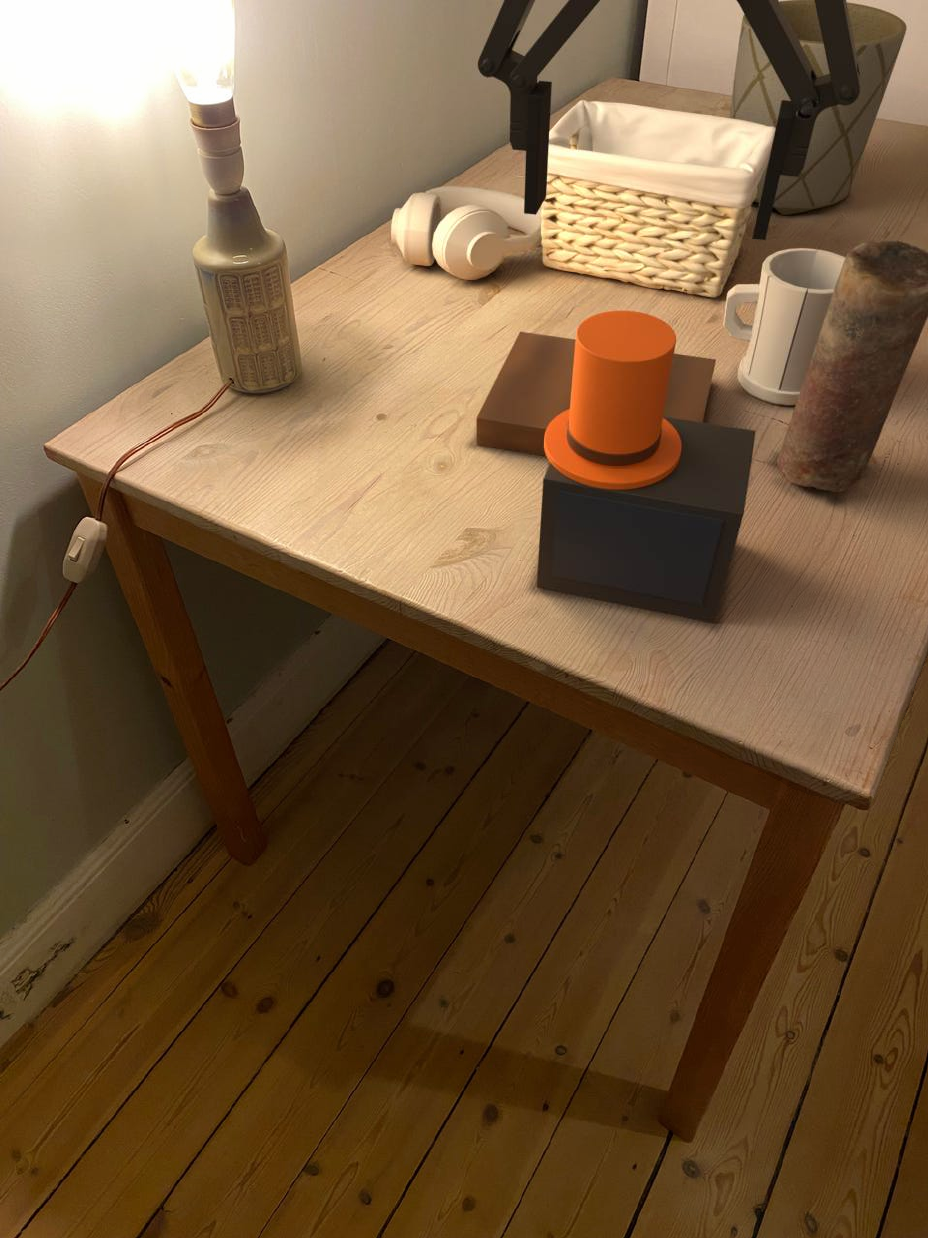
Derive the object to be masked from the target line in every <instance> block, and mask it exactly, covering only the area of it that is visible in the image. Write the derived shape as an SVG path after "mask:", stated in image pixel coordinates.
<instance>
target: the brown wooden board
mask: <svg viewBox="0 0 928 1238" xmlns="http://www.w3.org/2000/svg"><path fill="white" fill-rule="evenodd" d="M575 342H576V338H568V337H563V336H554V335H548V334H539V333H533V332H527V331H519V333H518V335H517V337H516V339H515V340H514V342H513V345H512V347H511V349H510V351H509V353H508V355H507V357H506V359H504V360H505V361H504V363H503V364H502V365H501V368H500V370H499V372H498V374H497V376H496V378H495V380H494V382H493V384H492V386H491V388H490V390H489V391H488V394H487V396H486V398H485V400H484V402H483V404H482V406H481V408H480V410H479V412H478V414H477V416H476V417H475V418H476V422H475V423H476V424H475V425H476V445H478V446H485V447H491V448H495V449H501V450H502V449H503V450H508V451H514V452H520V453H526V454H531V455H538V456H543V457H547V456H546V453H545V450H544V437H545V432H546V429H547V427H548V426H549V424H550V423H551V422H552V420H553V419H555V418H556V417H557V416H558V415H560V414H561V413H562V412H564V411H566V410H568V409H570V402H571V390H572V378H573V366H574V354H575ZM716 362H717V359H716V358H708V357H703V356H696V355H695V356H694V355H688V354H681V353H674V356H673V362H672V368H671V373H670V379H669V385H668V391H667V397H666V402H665V408H664V414H663V416H664V417H671V418H677V419H684V420H690V421H696V422H703V423H704V418H705V413H706V408H707V404H708V400H709V394H710V390H711V387H712V380H713V376H714V371H715V367H716Z"/></svg>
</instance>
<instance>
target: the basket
mask: <svg viewBox="0 0 928 1238" xmlns="http://www.w3.org/2000/svg"><path fill="white" fill-rule="evenodd" d="M775 129H776V128H775V127H768V126H765V125H762V124H758V123H753V122H749V121H744V120H738V119H732V118H729V117H724V116H717V115H712V114H704V113H695V112H686V111H679V110H672V109H666V108H665V109H664V108H659V107H652V106H645V105H638V104H632V103H624V102H612V101H611V102H610V101H599V100H593V101H586V100H585V99H581V100H579V101H578V102H577V103H576V104H575V105H573V106H572V107H571V108H570V109H569V110H568V111H566V113H565V114H564V115H563V116H562V117H561V118H560V119H559V120H558V121H557V122H556V123H555V124H554V125H553V127H552V128H550V130H549V151H548V171H547V191H546V198H545V200H544V202H543V204H542V205H541V207H542V210H541V218H542V223H541V236H542V241H541V243H542V247H543V248H542V249H541V251H542V253H541V254H542V255H541V260H542V264H543V266H545V267H547V268H550V269H551V268H552V269H554V270H559V271H565V272H570V273H571V272H572V273H578V274H581V275H583V274H584V275H587V276H588V275H589V276H593V277H598V278H602V279H613V280H619V281H621V282H624V283H628V282H630V283H632V284H634V285H638V286H641V287H646V288H649V289H657V290H660V289H661V290H662V289H664V290H665V291H666V290H667V291H676V292H682V293H686V294H688V295H697V296H702V297H708V298H717V297H719V296H720V295H721V294H722V292H723V290H724V286H725V285H726V283H727V281H728V278H729V277H730V275H731V272H732V268H733V267H734V265H735V261H736V259H737V258H738V256H739V250H740V248H741V246H742V240H743V237H744V236H745V232H746V229H747V222H748V220H749V217H750V216H751V214H752V205H753V203H754V200H755V198H756V194H757V185H758V184H759V181H760V179H761V177H762V174H763V172H764V170H765V168H766V166H767V164H768V161H769V156H770V152H771V147H772V142H773V138H774V133H775Z"/></svg>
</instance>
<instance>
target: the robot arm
mask: <svg viewBox="0 0 928 1238" xmlns="http://www.w3.org/2000/svg"><path fill="white" fill-rule="evenodd" d="M600 1H601V0H567V2H566V3H565V4H564V6H563V7H562V8H561V9H560V11H559V12H558V13H557V14H556V16H555V17H554V18H553V19H552V20H551V22H550V23H549V24H548V26H547V27H546V28H545V29H544V31H542V33H541V35H539V37H538V38H537V39H536V40H535V42H534V43H533V45H532V46H531V47H530V48H529V49H528V50H527V52H526V53H525V55H524V54H522V53H519V52H518V51H515V50H514V47H515V45H516V43H517V41H518V39H519V37H520V34H521V32H522V31H523V28H524V26H525V23H526V21H527V19H528V18H529V15H530V13H531V10H532V8H533V6H534V4H535V2H536V0H503V2H502V4H501V7H500V9H499V11H498V14H497V16H496V19H495V20H494V23H493V25H492V28H491V30H490V32H489V34H488V37H487V39H486V41H485V43H484V46H483V48H482V50H481V53H480V55H479V58H478V60H477V69H478V71H479V73H480V74H481V76H483V77H485V78H495V79H496V80H498V81H500V82H502V83H503V84H504V85H506V87H507V88H508V91H509V94H510V95H509V97H510V100H509V101H510V103H509V143H510V146H511V149H512V150H513V151H522V152H523V151H524V152H525V166H524V167H525V169H524V170H525V171H524V197H523V198H524V214H533V215H536V214H537V212H538V210H539V209H540V207H541V205H542V204H543V202H544V200H545V198H546V191H547V171H548V151H549V132H550V131H551V127H550V126H551V109H552V88H553V81H547V80H539V81H538V76H540V74H541V73H542V72H543V70H544V69H545V68H546V67H547V66H548V65H549V63H550V62H551V61H552V59H553V58H554V57H555V56H556V55H557V54H558V53H559V51H560V50H561V49H562V47H564V45H565V44H566V42H568V40H570V38H571V36H572V35H573V34H574V33H575V32H576V31H577V29H579V27H580V25H581V24H582V23H583V22H584V21H585V20H586V18H587V17H588V16H589V15H590V14H591V12H592V11H593V10H594V9H595V8H596V6H597V5H598V4H599V3H600ZM735 1H736V2H737V3H738V5H739V6H740V9H741V10H742V12H743V15H744V14H745V16H746V18H747V20H748V22H749V24H750V25H751V27H752V29H753V31H754V33H755V35H756V37H757V39H758V40H759V42H760V44H761V46H762V48H763V50H764V52H765V53H766V55H767V57H768V59H769V61H770V63H771V65H772V66H773V68H774V70H775V72H776V74H777V76H778V78H779V79H780V81H781V83H782V85H783V87H784V89H785V91H786V92H787V94H788V96H789V98H790V100H791V101H787V100H782V101H781V106H780V110H779V115H778V119H777V124H776V129H775V133H774V138H773V142H772V147H771V152H770V156H769V161H768V165H767V170H766V175H765V179H764V184H763V189H762V193H761V198H760V202H759V203H758V208H757V211H756V217H755V221H754V226H753V231H752V235H751V236H752V237H751V239H752V240H759V241H766V239H767V234H768V230H769V226H770V221H771V217H772V212H773V208H774V207H773V204H774V200H775V196H776V191H777V187H778V182H779V178H780V175H784V176H794V177H798V176H799V174H800V173H801V171H802V170H803V168H804V165H805V161H806V156H807V152H808V148H809V144H810V140H811V136H812V132H813V128H814V124H815V121H816V118H817V116H818V115H819V114H820V113H821V112H822V111H823V110H824V109H826V108H829V107H832V106H836V105H839V104H840V105H844V106H846V105H850V104H852V103H853V102H855V101H856V99H857V98H858V96H859V94H860V70H859V64H858V59H857V54H856V49H855V43H854V38H853V33H852V28H851V22H850V17H849V12H848V7H847V2H848V1H847V0H815V5H816V10H817V15H818V20H819V24H820V29H821V34H822V39H823V44H824V48H825V53H826V58H827V63H828V67H829V72H830V74H827V75H823V76H820V77H818V76H817V74H816V72H815V70H814V68H813V66H812V65H811V63H810V61H809V59H808V57H807V55H806V53H805V51H804V49H803V47H802V45H801V43H800V41H799V39H798V37H797V36H796V34H795V32H794V30H793V28H792V26H791V24H790V22H789V20H788V18H787V16H786V14H785V12H784V10H783V8H782V7H781V5H780V3H779V1H780V0H735Z"/></svg>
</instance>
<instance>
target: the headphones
mask: <svg viewBox="0 0 928 1238" xmlns="http://www.w3.org/2000/svg"><path fill="white" fill-rule="evenodd" d="M524 198H525V197H523V196H520V195H516V194H512V193H509V192H504V191H499V190H494V189H488V188H481V187H477V186H460V185H444V186H443V185H442V186H437V187H434V188H431V189H428V190H426V191H425V192H421V191H419V192H414V193H412V194H411V195H410V196H409V198H408V199H407V200H406V202H405V203H404V205H403V206H402V207H401V208H400V207H396V208H395V209H394V211H393V214H392V218H391V226H390V240H391V244H392V246H395V247H398V248H399V250H400V253H401V254H402V256H403V259H404V260H405V263H406V264H410V265H415V266H423V267H432V265H433V264H434V263H435V261H436V263H437V265H438V266H440V268H442V269H443V270H444V271H445V272H447V273H449V274H450V275H452V276H454V277H456V278H459V279H462V280H465V281H477V280H479V279H482V278H485V277H487V276H488V275H491V274H492V273H493V272H495V271H496V270H497V269H498V267H499V266H500V265H501V264H502V263H503V262H504V259H505V258H506V256H509V255H513V254H518V253H523V252H527V251H532V250H535V249H537V248H538V249H539V250H541V251H542V248H543V247H542V243H541V241H542V236H541V223H542V218H541V210H542V207H540V209H539V210H538V212H537V214H536V215H533V214H524ZM510 229H513V230H516V231H518V232H521V233H524V234H525V235H518V236H512V237H511V233H510V232H511V231H510Z"/></svg>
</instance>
